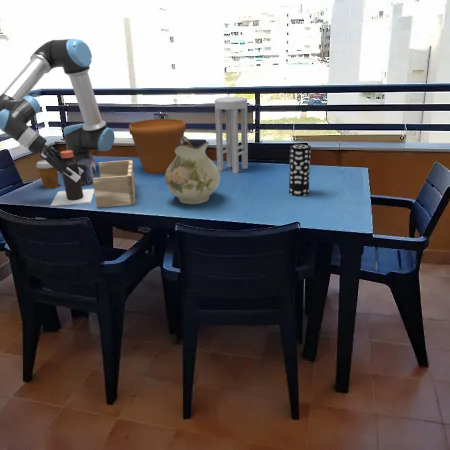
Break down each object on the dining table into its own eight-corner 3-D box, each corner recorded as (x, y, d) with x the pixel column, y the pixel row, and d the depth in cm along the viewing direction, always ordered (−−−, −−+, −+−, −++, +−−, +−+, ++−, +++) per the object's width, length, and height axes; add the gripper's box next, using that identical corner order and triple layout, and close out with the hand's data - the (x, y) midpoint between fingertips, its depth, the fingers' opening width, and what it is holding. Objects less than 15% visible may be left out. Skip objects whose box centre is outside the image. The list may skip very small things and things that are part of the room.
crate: (102, 187, 202) (98, 162, 197) (135, 185, 204) (132, 159, 199) (96, 207, 177) (92, 179, 172) (134, 204, 179) (131, 176, 175)
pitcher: (200, 212, 168) (197, 147, 159) (153, 202, 180) (147, 142, 171) (230, 195, 186) (229, 137, 177) (186, 188, 198) (182, 132, 188)
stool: (253, 167, 226) (252, 97, 213) (237, 174, 214) (236, 101, 201) (227, 164, 234) (226, 96, 221) (211, 171, 222) (208, 100, 209)
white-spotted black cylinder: (296, 197, 181) (298, 149, 173) (285, 192, 188) (286, 145, 180) (312, 194, 185) (315, 147, 177) (300, 188, 191) (302, 143, 184)
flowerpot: (165, 159, 247) (161, 117, 238) (199, 167, 229) (196, 122, 220) (123, 170, 229) (117, 124, 220) (156, 179, 211) (151, 130, 202)
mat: (58, 192, 196) (58, 191, 196) (95, 189, 199) (94, 188, 199) (50, 206, 180) (50, 205, 180) (90, 203, 182) (90, 201, 182)
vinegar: (79, 194, 192) (70, 149, 184) (86, 197, 187) (78, 151, 179) (64, 198, 188) (55, 152, 180) (71, 201, 183) (62, 154, 175)
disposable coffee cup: (66, 184, 208) (62, 160, 203) (51, 190, 200) (46, 165, 195) (51, 182, 212) (46, 158, 207) (36, 188, 204) (31, 163, 199)
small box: (88, 186, 205) (84, 164, 201) (75, 185, 206) (71, 164, 202) (98, 179, 214) (95, 158, 210) (86, 179, 215) (82, 158, 211)
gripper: (33, 142, 186) (78, 176, 195) (20, 154, 167) (70, 190, 175) (44, 129, 185) (88, 163, 194) (32, 139, 166) (82, 177, 174)
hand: (80, 176), depth 185 cm, fingers open, 9 cm apart
